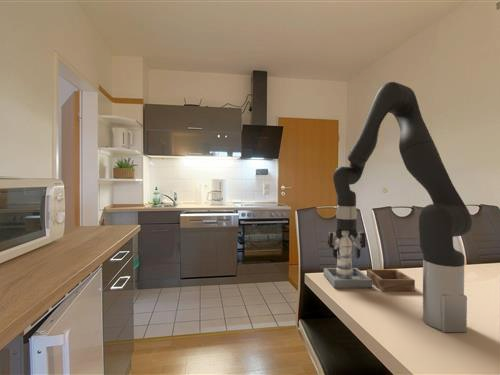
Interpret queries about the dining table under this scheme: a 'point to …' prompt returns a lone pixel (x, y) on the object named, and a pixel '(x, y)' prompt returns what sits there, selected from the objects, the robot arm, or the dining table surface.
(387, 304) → the dining table surface
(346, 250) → the plastic bottle
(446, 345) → the dining table surface
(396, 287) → the walnut collar
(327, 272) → the grey tray
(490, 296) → the dining table surface
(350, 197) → the robot arm
